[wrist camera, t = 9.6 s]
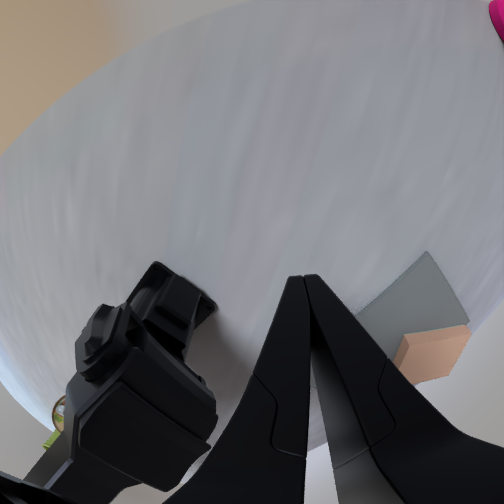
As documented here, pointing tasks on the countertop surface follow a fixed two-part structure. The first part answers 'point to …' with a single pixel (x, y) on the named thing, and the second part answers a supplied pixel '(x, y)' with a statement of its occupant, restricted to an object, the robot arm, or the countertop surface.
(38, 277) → the countertop surface
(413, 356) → the tile
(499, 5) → the pepper mill
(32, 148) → the countertop surface
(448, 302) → the mat
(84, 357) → the robot arm
